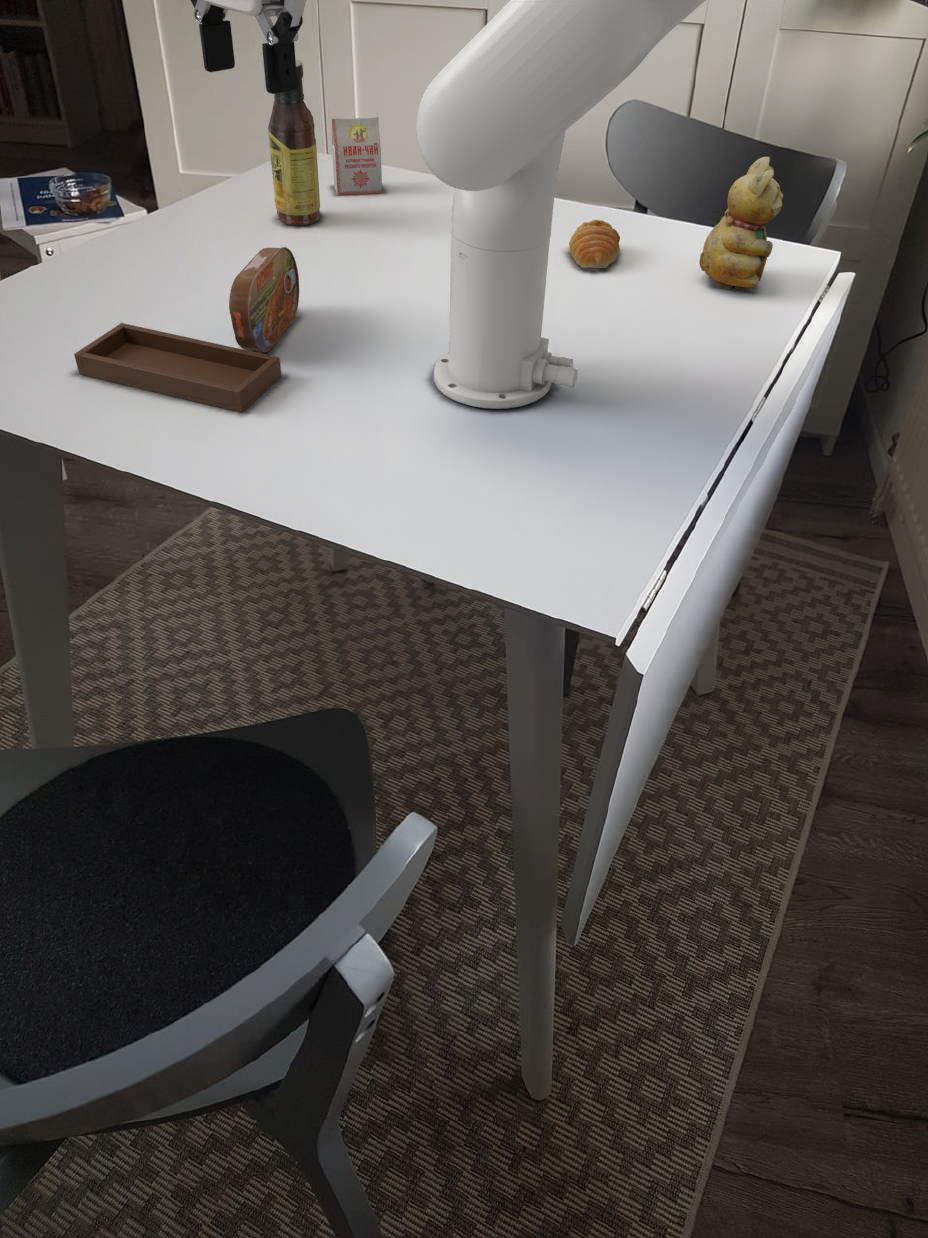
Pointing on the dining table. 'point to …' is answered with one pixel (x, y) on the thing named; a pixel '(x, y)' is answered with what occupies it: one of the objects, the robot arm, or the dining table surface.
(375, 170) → the tea box
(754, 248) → the decorative figurine
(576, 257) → the pastry
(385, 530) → the dining table surface
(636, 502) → the dining table surface
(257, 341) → the tin
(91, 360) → the tray
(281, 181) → the sauce bottle
